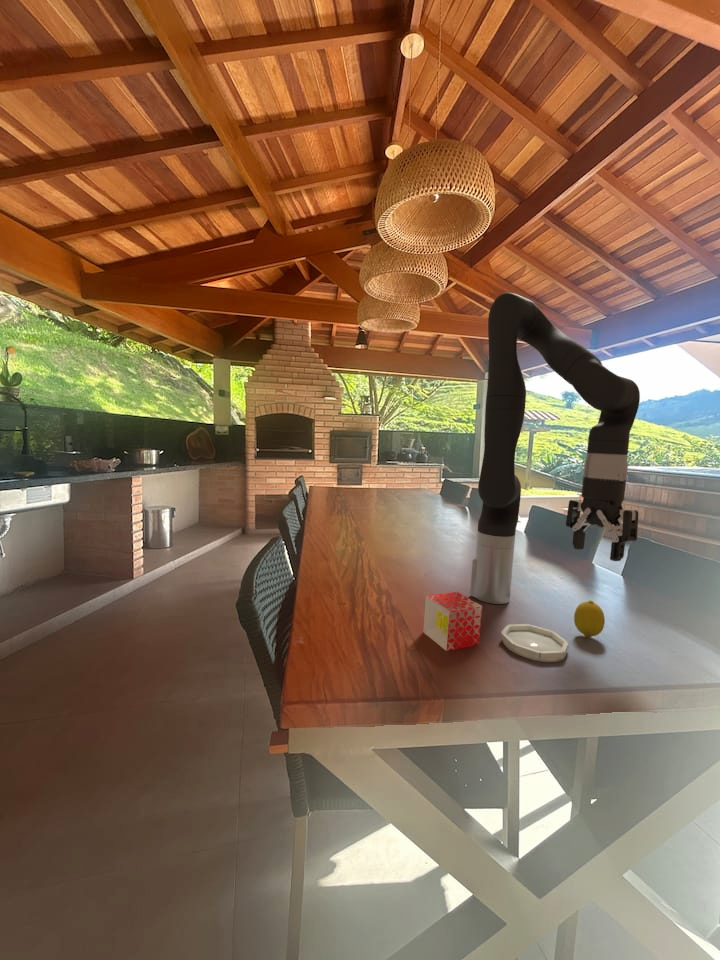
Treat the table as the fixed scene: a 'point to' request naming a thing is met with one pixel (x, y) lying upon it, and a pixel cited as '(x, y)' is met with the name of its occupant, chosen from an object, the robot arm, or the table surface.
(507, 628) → the dish
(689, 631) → the table surface
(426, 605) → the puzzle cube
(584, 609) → the lemon
